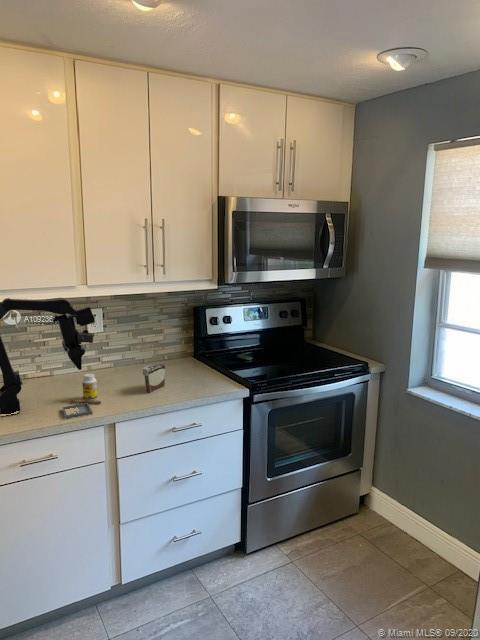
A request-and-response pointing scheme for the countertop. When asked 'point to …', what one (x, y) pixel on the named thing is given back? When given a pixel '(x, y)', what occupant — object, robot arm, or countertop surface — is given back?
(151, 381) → the food container
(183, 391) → the countertop surface
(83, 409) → the square tray
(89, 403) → the strip
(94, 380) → the supplement bottle
